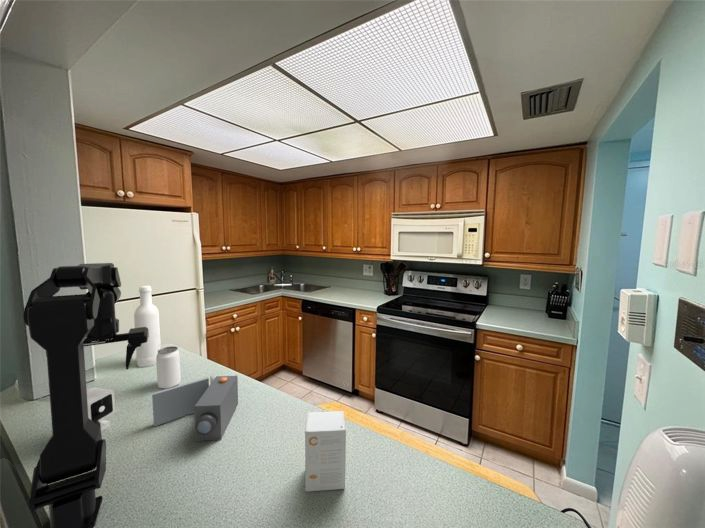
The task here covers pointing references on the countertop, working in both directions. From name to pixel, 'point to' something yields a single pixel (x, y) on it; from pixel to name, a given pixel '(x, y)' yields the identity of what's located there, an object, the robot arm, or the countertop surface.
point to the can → (168, 367)
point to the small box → (325, 451)
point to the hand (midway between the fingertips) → (104, 372)
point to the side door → (177, 400)
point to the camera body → (216, 407)
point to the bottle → (148, 318)
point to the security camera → (100, 405)
